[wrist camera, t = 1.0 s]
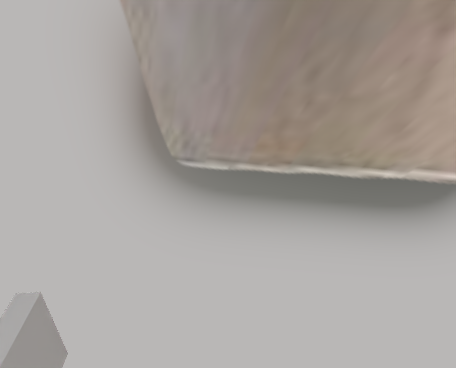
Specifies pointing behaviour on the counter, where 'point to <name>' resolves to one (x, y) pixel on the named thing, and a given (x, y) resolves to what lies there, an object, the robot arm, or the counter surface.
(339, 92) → the counter surface
